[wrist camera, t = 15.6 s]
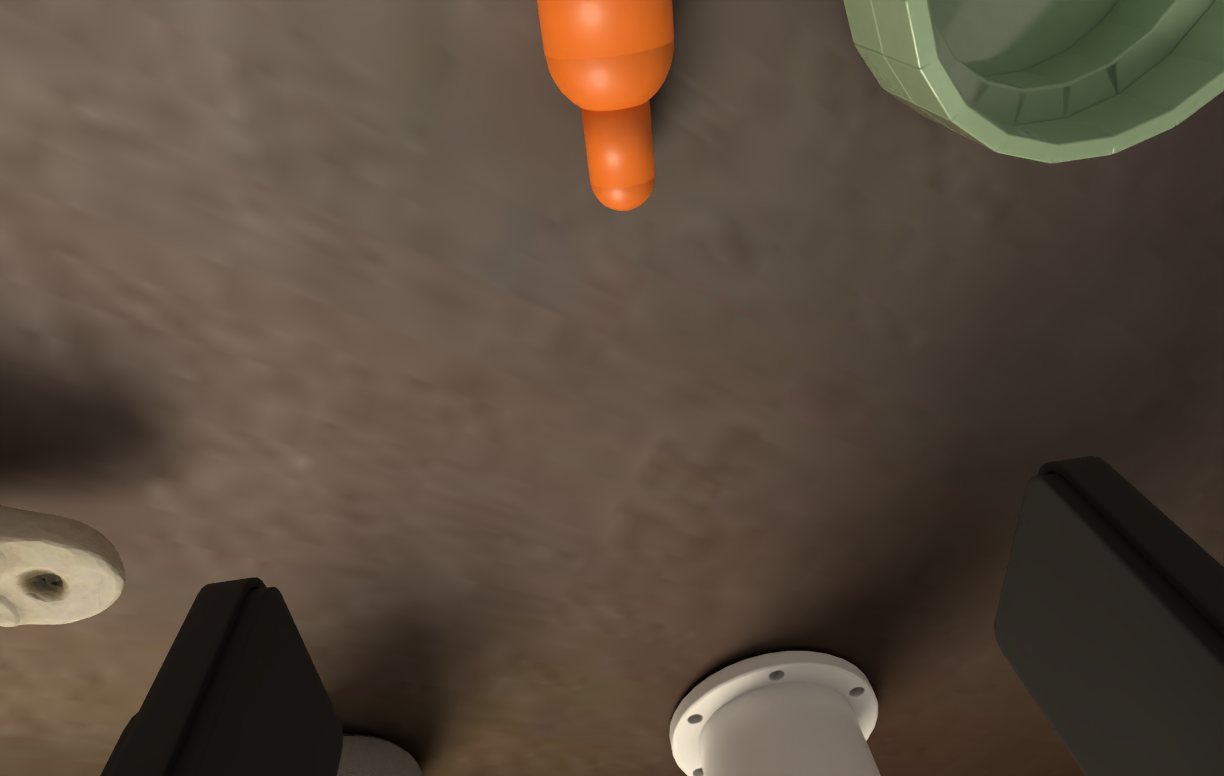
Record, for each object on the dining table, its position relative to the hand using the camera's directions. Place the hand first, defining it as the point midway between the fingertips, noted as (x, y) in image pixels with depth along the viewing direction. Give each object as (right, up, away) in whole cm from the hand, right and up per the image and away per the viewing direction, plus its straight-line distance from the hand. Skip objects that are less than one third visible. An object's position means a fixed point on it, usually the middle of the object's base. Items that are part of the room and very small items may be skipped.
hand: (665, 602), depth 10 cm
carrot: (-1, +15, +15) cm, 21 cm away
